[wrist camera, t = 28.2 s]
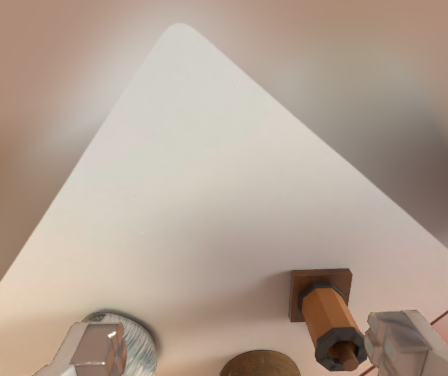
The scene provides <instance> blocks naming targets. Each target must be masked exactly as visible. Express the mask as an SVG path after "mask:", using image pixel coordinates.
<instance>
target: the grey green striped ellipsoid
mask: <svg viewBox="0 0 448 376" xmlns="http://www.w3.org/2000/svg"><path fill="white" fill-rule="evenodd" d="M82 322H122V323H123V326H124V334H123V337H122V338H123V339H124V340H125V341H126V343H127V361H126V367H125V370H124V373H123V374H122V375H121V376H153V374H154V372H155V370H156V365H157V351H156V345H155V342H154V340H153V338H152V337H151V335H150V334H149V332H148V331H147V330H146V329H144V328H143V327H142V326H140V325H139V324H138V323H136V322H134V321H132V320H130V319H127V318H125V317H122V316H119V315H116V314H112V313H96V314H92V315H90V316H88V317H86V318H85V319H84V320H83V321H82Z"/></svg>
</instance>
